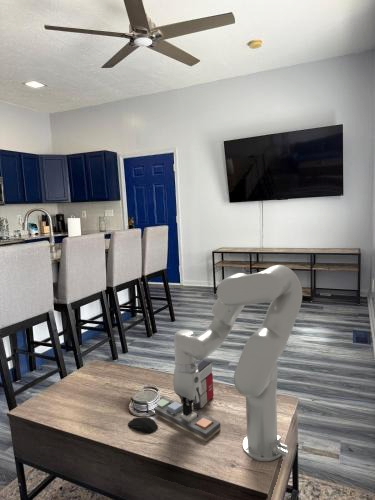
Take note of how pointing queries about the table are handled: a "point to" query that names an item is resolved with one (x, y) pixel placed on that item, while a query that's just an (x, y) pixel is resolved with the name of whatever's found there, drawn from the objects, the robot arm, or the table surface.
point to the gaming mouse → (143, 425)
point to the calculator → (205, 383)
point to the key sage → (163, 403)
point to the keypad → (187, 425)
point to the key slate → (175, 408)
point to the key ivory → (189, 416)
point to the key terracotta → (204, 423)
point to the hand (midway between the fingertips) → (187, 413)
